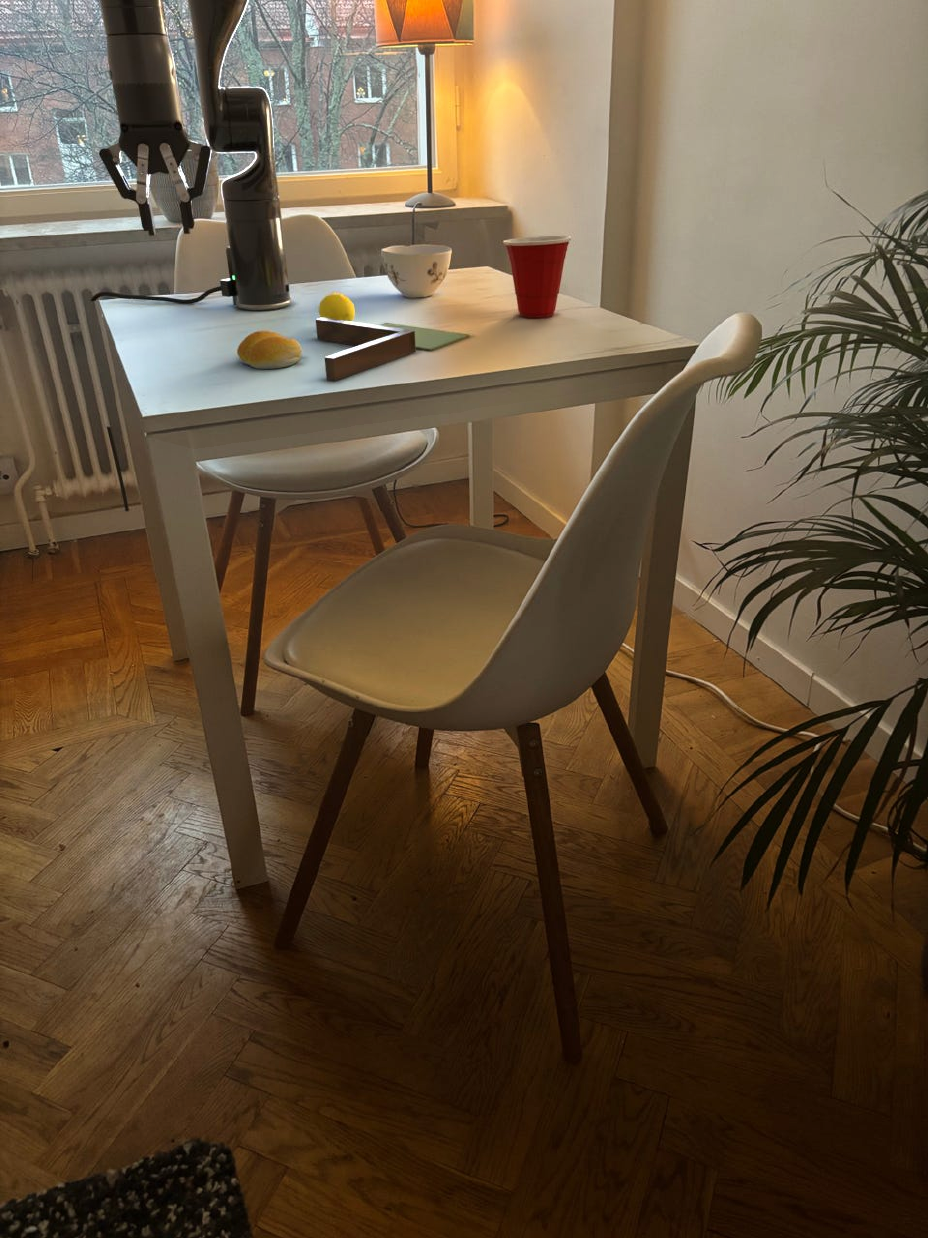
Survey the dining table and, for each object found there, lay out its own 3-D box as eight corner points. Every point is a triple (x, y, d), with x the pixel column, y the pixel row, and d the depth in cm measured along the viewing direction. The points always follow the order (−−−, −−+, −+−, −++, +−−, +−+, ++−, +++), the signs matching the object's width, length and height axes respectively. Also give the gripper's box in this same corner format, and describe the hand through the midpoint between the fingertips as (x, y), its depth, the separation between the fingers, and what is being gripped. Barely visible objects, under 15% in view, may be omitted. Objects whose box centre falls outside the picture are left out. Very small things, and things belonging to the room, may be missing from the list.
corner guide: (239, 363, 130) (236, 341, 128) (323, 337, 142) (322, 317, 141) (334, 381, 121) (332, 358, 120) (415, 351, 134) (414, 330, 132)
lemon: (364, 329, 146) (362, 293, 144) (335, 335, 143) (332, 298, 141) (339, 322, 151) (336, 287, 148) (311, 327, 148) (307, 292, 145)
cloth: (345, 337, 142) (345, 335, 142) (386, 324, 149) (386, 322, 149) (430, 350, 134) (430, 348, 134) (469, 336, 141) (469, 334, 141)
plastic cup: (542, 304, 160) (544, 229, 154) (582, 315, 152) (585, 236, 146) (489, 313, 155) (489, 235, 149) (528, 324, 147) (529, 243, 141)
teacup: (467, 294, 169) (466, 247, 165) (413, 304, 162) (410, 255, 158) (414, 283, 179) (412, 238, 175) (361, 293, 172) (358, 246, 168)
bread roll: (263, 373, 125) (259, 343, 123) (230, 361, 131) (226, 332, 129) (315, 362, 130) (312, 332, 128) (281, 350, 136) (278, 322, 134)
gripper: (206, 78, 116) (227, 227, 125) (87, 81, 114) (116, 232, 123) (203, 78, 110) (225, 235, 118) (77, 81, 108) (108, 240, 116)
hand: (169, 233), depth 120 cm, fingers open, 3 cm apart
